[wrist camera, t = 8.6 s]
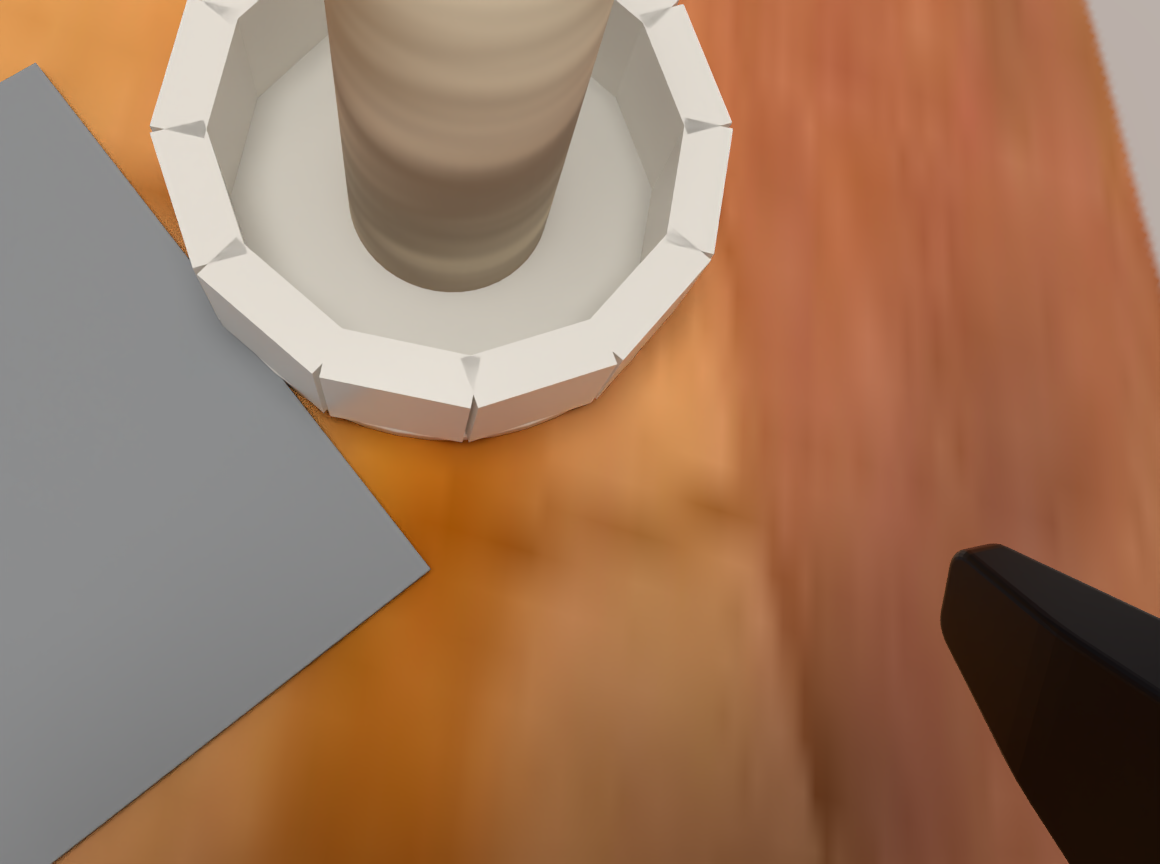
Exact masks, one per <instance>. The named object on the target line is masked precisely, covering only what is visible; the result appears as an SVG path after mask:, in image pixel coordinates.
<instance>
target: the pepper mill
mask: <svg viewBox="0 0 1160 864" xmlns="http://www.w3.org/2000/svg"><path fill="white" fill-rule="evenodd" d="M613 2H614V0H324V4H325V12H326V20H327V28H328V37H329V45H330V53H331V61H332V70H333V78H334V86H335V94H336V103H337V111H338V119H339V127H340V136H341V144H342V152H343V161H344V169H345V177H346V185H347V194H348V202H349V208H350V214H351V219H352V222H353V225H354V228H355V230H356V232H357V234H358V236H359V238H360V241H361V242H362V244H363V245H364V247H365V248H366V250H367V251H368V252H369V253H370V255H371V256H372V257H373V258H374V259H375V260H376V261H377V262H378V263H379V264H380V265H381V266H382V267H384V268H385V269H386V270H387V271H389V272H390V273H392V274H393V275H395V276H396V277H398V278H400V279H402V280H403V281H405V282H407V283H409V284H412V285H415V286H418V287H421V288H424V289H429V290H433V291H440V292H465V291H472V290H477V289H480V288H484V287H487V286H490V285H492V284H494V283H497V282H499V281H501V280H502V279H504V278H506V277H508V276H509V275H511V274H512V273H513V272H514V271H516V270H517V269H518V268H519V267H520V266H521V265H522V264H523V263H524V262H525V261H526V260H527V259H528V258H529V257H530V255H531V254H532V253H533V251H534V250H535V248H536V246H537V244H538V243H539V241H540V239H541V236H542V233H543V231H544V228H545V225H546V221H547V218H548V215H549V212H550V208H551V205H552V202H553V199H554V195H555V192H556V189H557V185H558V182H559V179H560V176H561V172H562V169H563V166H564V162H565V159H566V156H567V153H568V149H569V146H570V143H571V140H572V136H573V133H574V130H575V126H576V123H577V120H578V117H579V113H580V110H581V107H582V103H583V100H584V97H585V94H586V90H587V87H588V84H589V80H590V77H591V74H592V71H593V67H594V64H595V61H596V58H597V54H598V51H599V48H600V44H601V41H602V38H603V35H604V31H605V28H606V25H607V21H608V18H609V15H610V12H611V8H612V5H613Z"/></svg>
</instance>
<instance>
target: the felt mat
mask: <svg viewBox="0 0 1160 864" xmlns="http://www.w3.org/2000/svg"><path fill="white" fill-rule="evenodd" d="M428 571H430V568H429V567H428V565H427V564H426V563H425V561H424V560H423V559H422V558H421V556H420V555H419V554H418V552H417V551H416V550H415V549H414V547H413V546H412V545H411V543H410V542H409V541H408V540H407V538H406V537H405V536H404V534H403V533H402V532H401V531H400V529H399V528H398V527H397V525H396V524H395V523H394V522H393V520H392V519H391V518H390V517H389V515H388V514H387V513H386V511H385V510H384V509H383V508H382V506H381V505H380V504H379V502H378V501H377V500H376V499H375V497H374V496H373V495H372V493H371V492H370V491H369V490H368V488H367V487H366V486H365V484H364V483H363V482H362V481H361V479H360V478H359V477H358V475H357V474H356V473H355V472H354V470H353V469H352V468H351V466H350V465H349V464H348V463H347V461H346V460H345V459H344V458H343V456H342V455H341V454H340V452H339V451H338V450H337V449H336V447H335V446H334V445H333V443H332V442H331V441H330V440H329V438H328V437H327V436H326V434H325V433H324V432H323V431H322V429H321V428H320V427H319V425H318V424H317V423H316V422H315V420H314V419H313V418H312V416H311V415H310V414H309V413H308V411H307V410H306V409H305V407H304V406H303V405H302V404H301V402H300V401H299V400H298V399H297V397H296V396H295V395H294V393H293V392H292V391H291V390H290V388H289V387H288V386H287V384H286V383H285V382H284V381H283V379H282V378H281V377H279V376H278V375H277V374H275V373H274V372H273V371H272V370H271V369H270V368H269V367H268V366H267V365H266V364H265V363H264V362H263V361H262V360H261V359H260V358H259V357H258V356H257V355H256V354H255V353H254V352H253V351H252V350H250V349H249V348H248V347H247V346H246V345H245V344H243V343H242V342H241V341H240V340H239V339H238V338H236V337H235V336H234V335H233V334H232V333H231V332H230V331H228V330H227V329H226V328H225V327H224V326H223V325H222V323H221V321H220V320H219V319H218V317H217V315H216V313H215V311H214V309H213V307H212V305H211V303H210V301H209V299H208V297H207V295H206V293H205V291H204V289H203V287H202V285H201V284H200V282H199V280H198V278H197V276H196V274H195V272H194V270H193V268H192V265H191V261H190V260H189V259H188V257H187V256H186V255H185V254H184V252H183V251H182V250H181V248H180V247H179V246H178V245H177V243H176V242H175V241H174V239H173V238H172V237H171V236H170V234H169V233H168V232H167V230H166V229H165V228H164V227H163V225H162V224H161V223H160V222H159V220H158V219H157V218H156V216H155V215H154V214H153V213H152V211H151V210H150V209H149V207H148V206H147V205H146V204H145V202H144V201H143V200H142V198H141V197H140V196H139V195H138V193H137V192H136V191H135V189H134V188H133V187H132V186H131V184H130V183H129V182H128V180H127V179H126V178H125V177H124V175H123V174H122V173H121V171H120V170H119V169H118V168H117V166H116V165H115V164H114V163H113V161H112V160H111V159H110V157H109V156H108V155H107V154H106V152H105V151H104V150H103V148H102V147H101V146H100V145H99V143H98V142H97V141H96V139H95V138H94V137H93V136H92V134H91V133H90V132H89V130H88V129H87V128H86V127H85V125H84V124H83V123H82V121H81V120H80V119H79V118H78V116H77V115H76V114H75V113H74V111H73V110H72V109H71V107H70V106H69V105H68V104H67V102H66V101H65V100H64V98H63V97H62V96H61V95H60V93H59V92H58V91H57V89H56V88H55V87H54V86H53V84H52V83H51V82H50V80H49V79H48V78H47V77H46V75H45V74H44V73H43V71H42V70H41V69H40V68H39V66H38V65H37V64H36V63H34V64H32V65H31V66H29V67H27V68H25V69H23V70H22V71H20V72H18V73H16V74H15V75H13V76H11V77H9V78H7V79H6V80H4V81H2V82H0V864H52V863H54V862H55V861H56V860H57V859H59V858H60V857H61V856H63V855H64V854H65V853H66V852H68V851H69V850H70V849H72V848H73V847H74V846H75V845H77V844H78V843H79V842H81V841H82V840H83V839H84V838H86V837H87V836H88V835H90V834H91V833H92V832H93V831H95V830H96V829H97V828H99V827H100V826H101V825H103V824H104V823H105V822H106V821H108V820H109V819H110V818H112V817H113V816H114V815H115V814H117V813H118V812H119V811H121V810H122V809H123V808H124V807H126V806H127V805H128V804H130V803H131V802H132V801H133V800H135V799H136V798H137V797H139V796H140V795H141V794H142V793H144V792H145V791H146V790H148V789H149V788H150V787H151V786H153V785H154V784H155V783H157V782H158V781H159V780H160V779H162V778H163V777H164V776H166V775H167V774H168V773H169V772H171V771H172V770H173V769H175V768H176V767H177V766H179V765H180V764H181V763H182V762H184V761H185V760H186V759H188V758H189V757H190V756H191V755H193V754H194V753H195V752H197V751H198V750H199V749H200V748H202V747H203V746H204V745H206V744H207V743H208V742H209V741H211V740H212V739H213V738H215V737H216V736H217V735H218V734H220V733H221V732H222V731H224V730H225V729H226V728H227V727H229V726H230V725H231V724H233V723H234V722H235V721H236V720H238V719H239V718H240V717H242V716H243V715H244V714H245V713H247V712H248V711H249V710H251V709H252V708H253V707H255V706H256V705H257V704H258V703H260V702H261V701H262V700H264V699H265V698H266V697H267V696H269V695H270V694H271V693H273V692H274V691H275V690H276V689H278V688H279V687H280V686H282V685H283V684H284V683H285V682H287V681H288V680H289V679H291V678H292V677H293V676H294V675H296V674H297V673H298V672H300V671H301V670H302V669H303V668H305V667H306V666H307V665H309V664H310V663H311V662H312V661H314V660H315V659H316V658H318V657H319V656H320V655H321V654H323V653H324V652H325V651H327V650H328V649H329V648H331V647H332V646H333V645H334V644H336V643H337V642H338V641H340V640H341V639H342V638H343V637H345V636H346V635H347V634H349V633H350V632H351V631H352V630H354V629H355V628H356V627H358V626H359V625H360V624H361V623H363V622H364V621H365V620H367V619H368V618H369V617H370V616H372V615H373V614H374V613H376V612H377V611H378V610H379V609H381V608H382V607H383V606H385V605H386V604H387V603H388V602H390V601H391V600H392V599H394V598H395V597H396V596H397V595H399V594H400V593H401V592H403V591H404V590H405V589H407V588H408V587H409V586H410V585H412V584H413V583H414V582H416V581H417V580H418V579H419V578H421V577H422V576H423V575H425V574H426V573H427V572H428Z"/></svg>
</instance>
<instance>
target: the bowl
mask: <svg viewBox="0 0 1160 864" xmlns="http://www.w3.org/2000/svg"><path fill="white" fill-rule="evenodd" d="M678 1H679V0H614V2H613V5H612V8H611V12H610V15H609V18H608V21H607V25H606V28H605V31H604V35H603V38H602V41H601V44H600V48H599V51H598V54H597V58H596V61H595V64H594V67H593V71H592V74H591V77H590V80H589V84H588V87H587V90H586V94H585V97H584V100H583V103H582V107H581V110H580V113H579V117H578V120H577V123H576V126H575V130H574V133H573V136H572V140H571V143H570V146H569V149H568V153H567V156H566V159H565V162H564V166H563V169H562V172H561V176H560V179H559V182H558V185H557V189H556V192H555V195H554V199H553V202H552V205H551V208H550V212H549V215H548V218H547V221H546V225H545V228H544V231H543V233H542V236H541V239H540V241H539V243H538V244H537V246H536V248H535V250H534V251H533V253H532V254H531V255H530V257H529V258H528V259H527V260H526V261H525V262H524V263H523V264H522V265H521V266H520V267H519V268H518V269H517V270H516V271H514V272H513V273H512V274H511V275H509V276H508V277H506V278H504V279H502V280H501V281H499V282H497V283H494V284H492V285H490V286H487V287H484V288H480V289H477V290H472V291H465V292H440V291H433V290H429V289H424V288H421V287H418V286H415V285H412V284H409V283H407V282H405V281H403V280H402V279H400V278H398V277H396V276H395V275H393V274H392V273H390V272H389V271H387V270H386V269H385V268H384V267H382V266H381V265H380V264H379V263H378V262H377V261H376V260H375V259H374V258H373V257H372V256H371V255H370V253H369V252H368V251H367V250H366V248H365V247H364V245H363V244H362V242H361V241H360V238H359V236H358V234H357V232H356V230H355V228H354V225H353V222H352V219H351V214H350V208H349V202H348V194H347V185H346V177H345V169H344V161H343V152H342V144H341V136H340V127H339V119H338V111H337V103H336V94H335V86H334V78H333V70H332V61H331V53H330V45H329V37H328V28H327V20H326V12H325V4H324V0H187V3H186V6H185V10H184V13H183V16H182V20H181V23H180V26H179V30H178V33H177V36H176V40H175V43H174V46H173V50H172V53H171V56H170V60H169V63H168V66H167V70H166V73H165V76H164V80H163V83H162V87H161V90H160V93H159V97H158V100H157V103H156V107H155V110H154V113H153V117H152V120H151V123H150V127H151V129H152V132H151V133H150V135H151V138H152V141H153V144H154V147H155V151H156V154H157V157H158V160H159V163H160V166H161V170H162V173H163V176H164V179H165V182H166V185H167V189H168V192H169V195H170V198H171V201H172V204H173V208H174V211H175V214H176V217H177V220H178V223H179V227H180V230H181V233H182V236H183V239H184V242H185V246H186V249H187V252H188V255H189V258H190V261H191V265H192V268H193V270H194V272H195V274H196V276H197V278H198V280H199V282H200V284H201V285H202V287H203V289H204V291H205V293H206V295H207V297H208V299H209V301H210V303H211V305H212V307H213V309H214V311H215V313H216V315H217V317H218V319H219V320H220V321H221V323H222V325H223V326H224V327H225V328H226V329H227V330H228V331H230V332H231V333H232V334H233V335H234V336H235V337H236V338H238V339H239V340H240V341H241V342H242V343H243V344H245V345H246V346H247V347H248V348H249V349H250V350H252V351H253V352H254V353H255V354H256V355H257V356H258V357H259V358H260V359H261V360H262V361H263V362H264V363H265V364H266V365H267V366H268V367H269V368H270V369H271V370H272V371H273V372H274V373H275V374H277V375H278V376H279V377H281V378H282V379H283V381H284V382H285V383H286V384H287V385H288V386H289V387H290V388H292V389H293V390H294V391H296V392H297V393H298V394H300V395H301V396H302V397H304V398H306V399H307V400H309V401H311V402H312V403H313V404H314V405H315V406H316V407H318V408H319V409H320V410H321V411H322V412H323V413H324V412H325V411H326V410H327V411H328V412H329V414H330V416H333V417H338V418H343V419H346V420H349V421H351V422H354V423H356V424H359V425H361V426H363V427H367V428H371V429H374V430H378V431H382V432H385V433H389V434H393V435H397V436H404V437H411V438H419V439H426V440H452V441H457V442H462V441H463V440H468V441H469V442H471V441H474V440H477V439H480V438H487V437H496V436H500V435H504V434H508V433H512V432H516V431H520V430H524V429H528V428H530V427H533V426H535V425H538V424H540V423H543V422H545V421H548V420H550V419H553V418H555V417H558V416H560V415H561V414H563V413H565V412H567V411H569V410H570V409H574V408H577V407H580V406H583V405H586V404H589V403H591V402H592V401H593V400H594V398H596V399H597V398H598V397H599V396H600V395H601V394H602V393H603V391H604V390H605V389H606V388H607V387H608V386H609V385H610V383H611V382H612V381H613V380H614V379H615V378H616V377H617V375H618V374H619V373H620V372H621V371H622V370H623V369H624V368H625V367H626V366H627V365H628V364H629V363H630V362H631V361H632V359H633V358H634V357H635V355H636V354H637V353H638V352H639V350H640V349H641V348H642V347H643V346H644V345H645V343H646V342H647V341H648V340H649V339H650V338H651V337H652V335H653V334H654V333H655V332H656V331H657V330H658V329H659V327H660V326H661V325H662V324H663V323H664V322H665V321H666V319H667V318H668V317H669V316H670V315H671V314H672V312H673V311H674V310H675V309H676V308H677V306H678V305H679V303H680V302H681V301H682V299H683V298H684V297H685V295H686V294H687V293H688V291H689V290H690V288H691V287H692V286H693V284H694V283H695V282H696V280H697V279H698V277H699V276H700V275H701V273H702V272H703V271H704V269H705V268H706V266H707V265H708V264H709V262H710V261H711V257H712V256H713V255H714V250H715V244H716V237H717V231H718V224H719V217H720V211H721V204H722V198H723V191H724V184H725V178H726V171H727V164H728V158H729V151H730V145H731V138H732V131H733V129H732V128H729V127H730V125H731V123H732V121H731V119H730V116H729V114H728V111H727V109H726V106H725V104H724V102H723V99H722V97H721V94H720V92H719V89H718V87H717V85H716V82H715V80H714V77H713V75H712V72H711V70H710V68H709V65H708V63H707V60H706V58H705V55H704V53H703V50H702V48H701V46H700V43H699V41H698V38H697V36H696V33H695V31H694V29H693V26H692V24H691V21H690V19H689V16H688V14H687V12H686V9H685V7H684V4H682V5H678V6H677V4H678Z"/></svg>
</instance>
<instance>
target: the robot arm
mask: <svg viewBox="0 0 1160 864" xmlns="http://www.w3.org/2000/svg"><path fill="white" fill-rule="evenodd" d="M940 621H941V629H942V633H943V636H944V639H945V642H946V644H947V646H948V648H949V650H950V652H951V654H952V656H953V658H954V660H955V662H956V664H957V666H958V668H959V670H960V672H961V674H962V676H963V678H964V680H965V681H966V683H967V685H968V687H969V689H970V691H971V693H972V695H973V697H974V699H975V701H976V703H977V705H978V707H979V709H980V711H981V713H982V715H983V717H984V719H985V721H986V723H987V725H988V727H989V729H990V731H991V733H992V735H993V737H994V739H995V741H996V743H997V745H998V747H999V749H1000V751H1001V753H1002V755H1003V757H1004V759H1005V761H1006V762H1007V764H1008V766H1009V768H1010V770H1011V772H1012V773H1013V775H1014V777H1015V779H1016V781H1017V782H1018V784H1019V786H1020V787H1021V789H1022V790H1023V792H1024V794H1025V795H1026V797H1027V799H1028V800H1029V802H1030V804H1031V805H1032V807H1033V808H1034V810H1035V811H1036V813H1037V814H1038V816H1039V817H1040V819H1041V821H1042V822H1043V824H1044V825H1045V827H1046V828H1047V830H1048V831H1049V833H1050V835H1051V836H1052V838H1053V839H1054V841H1055V842H1056V844H1057V845H1058V847H1059V849H1060V850H1061V852H1062V853H1063V855H1064V856H1065V858H1066V859H1067V861H1068V863H1069V864H1160V618H1158V617H1156V616H1153V615H1151V614H1149V613H1147V612H1145V611H1143V610H1141V609H1138V608H1136V607H1134V606H1132V605H1130V604H1128V603H1126V602H1123V601H1121V600H1119V599H1117V598H1115V597H1113V596H1111V595H1109V594H1106V593H1104V592H1102V591H1100V590H1098V589H1096V588H1094V587H1091V586H1089V585H1087V584H1085V583H1083V582H1081V581H1079V580H1077V579H1074V578H1072V577H1070V576H1068V575H1066V574H1064V573H1062V572H1059V571H1057V570H1055V569H1053V568H1051V567H1049V566H1047V565H1044V564H1042V563H1040V562H1038V561H1036V560H1034V559H1032V558H1030V557H1027V556H1025V555H1023V554H1021V553H1019V552H1017V551H1015V550H1012V549H1010V548H1008V547H1006V546H1003V545H1001V544H987V545H982V546H977V547H973V548H968V549H963V550H960V551H959V552H957V553H956V554H955V555H954V557H953V558H952V560H951V563H950V567H949V573H948V578H947V583H946V588H945V593H944V598H943V604H942V609H941V616H940Z"/></svg>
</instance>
